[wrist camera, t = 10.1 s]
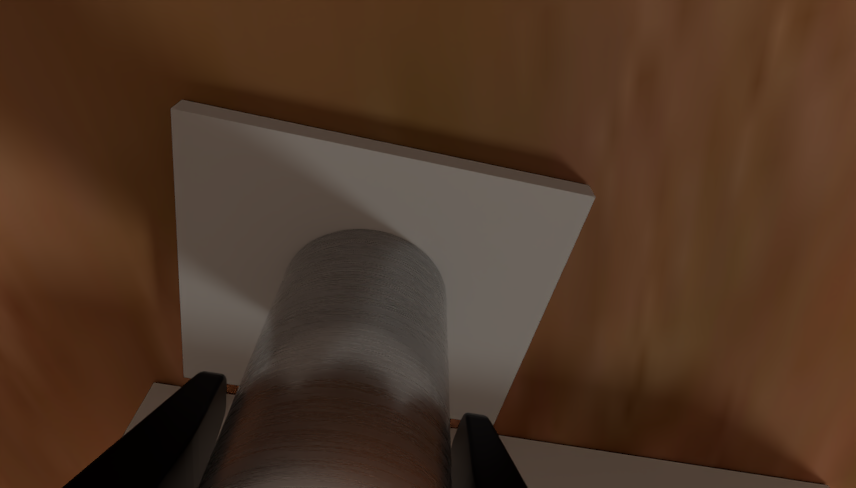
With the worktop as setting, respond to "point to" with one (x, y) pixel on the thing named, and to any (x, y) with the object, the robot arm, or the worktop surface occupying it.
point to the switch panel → (573, 462)
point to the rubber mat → (362, 209)
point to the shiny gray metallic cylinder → (345, 375)
